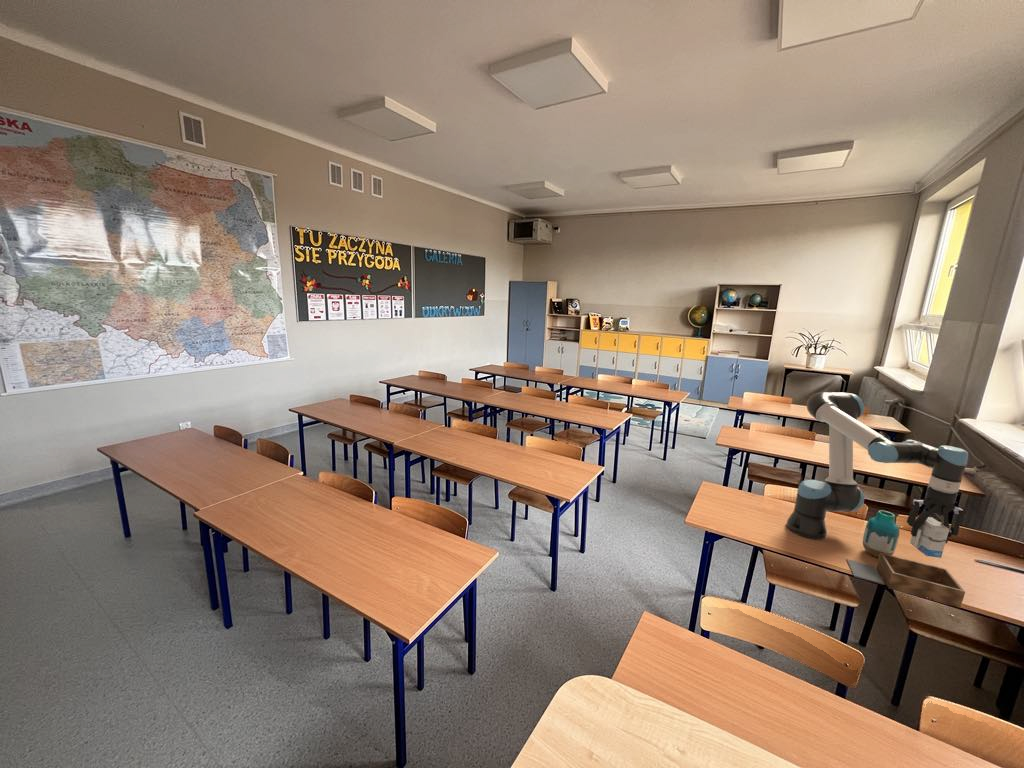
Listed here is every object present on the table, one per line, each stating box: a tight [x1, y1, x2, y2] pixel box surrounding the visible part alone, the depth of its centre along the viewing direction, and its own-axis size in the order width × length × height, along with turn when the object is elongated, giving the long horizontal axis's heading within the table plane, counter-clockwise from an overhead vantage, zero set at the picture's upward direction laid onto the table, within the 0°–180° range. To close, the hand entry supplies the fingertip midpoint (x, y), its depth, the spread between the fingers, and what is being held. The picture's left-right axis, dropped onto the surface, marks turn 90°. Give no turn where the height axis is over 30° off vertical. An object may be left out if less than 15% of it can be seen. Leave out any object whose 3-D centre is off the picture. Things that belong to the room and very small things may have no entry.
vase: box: [862, 509, 900, 558], centre depth 174 cm, size 11×11×19 cm
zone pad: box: [846, 558, 885, 585], centre depth 164 cm, size 9×12×1 cm
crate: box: [876, 553, 966, 609], centre depth 156 cm, size 20×15×6 cm
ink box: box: [909, 515, 950, 559], centre depth 153 cm, size 8×5×12 cm, turn 168°
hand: (926, 546), depth 154 cm, fingers closed on ink box, 6 cm apart
